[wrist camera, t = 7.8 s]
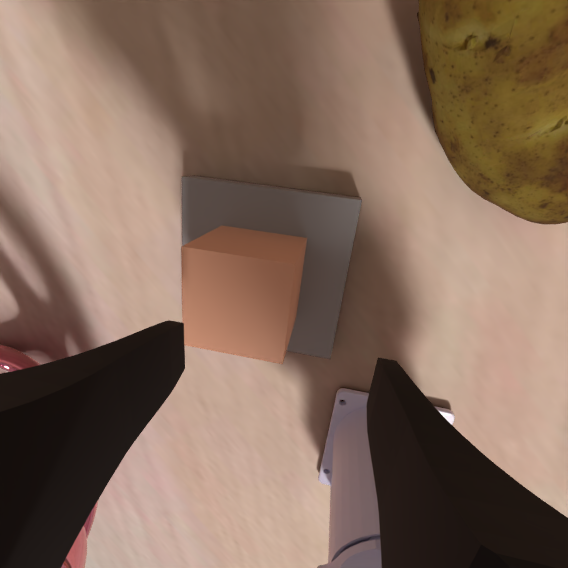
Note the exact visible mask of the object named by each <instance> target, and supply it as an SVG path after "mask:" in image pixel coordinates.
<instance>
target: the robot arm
mask: <svg viewBox="0 0 568 568" xmlns="http://www.w3.org/2000/svg"><path fill="white" fill-rule="evenodd" d="M184 369H185V351H184V323H180V322H175V321H165V322H162V323H159V324H157V325H154V326H151V327H149V328H146V329H144V330H142V331H139V332H137V333H134V334H132V335H129V336H127V337H124V338H122V339H119V340H117V341H114V342H111V343H109V344H106V345H103V346H100V347H98V348H95V349H92V350H89V351H87V352H84V353H81V354H77V355H74V356H71V357H68V358H64V359H61V360H57V361H54V362H50V363H46V364H42V365H38V366H33V367H29V368H25V369H20V370H16V371H12V372H7V373H2V374H0V568H61V567H62V565H63V563H64V561H65V559H66V557H67V555H68V553H69V551H70V549H71V548H72V546H73V544H74V542H75V540H76V538H77V537H78V535H79V533H80V531H81V529H82V527H83V526H84V524H85V522H86V520H87V518H88V516H89V515H90V513H91V511H92V509H93V508H94V506H95V504H96V502H97V501H98V499H99V497H100V496H101V494H102V492H103V490H104V489H105V487H106V485H107V484H108V482H109V480H110V479H111V477H112V475H113V474H114V472H115V470H116V469H117V467H118V466H119V464H120V462H121V461H122V459H123V457H124V456H125V454H126V453H127V451H128V450H129V448H130V447H131V446H132V444H133V443H134V441H135V440H136V439H137V437H138V436H139V435H140V433H141V432H142V431H143V429H144V428H145V427H146V425H147V424H148V423H149V421H150V420H151V419H152V417H153V416H154V415H155V413H156V412H157V411H158V410H159V408H160V407H161V406H162V404H163V403H164V401H165V400H166V399H167V397H168V396H169V395H170V393H171V392H172V390H173V389H174V387H175V385H176V384H177V382H178V380H179V378H180V376H181V374H182V373H183V371H184ZM340 400H345V401H344V402H341V401H340ZM454 419H455V417H454V414H453V412H452V411H451V410H449V409H445V408H440V407H435V406H433V405H432V403H431V402H430V401H429V400H428V399H427V398H426V397H425V395H424V394H423V393H422V392H421V391H420V390H419V388H418V387H417V386H416V385H415V384H414V382H413V381H412V380H411V379H410V377H409V376H408V375H407V374H406V372H405V371H404V370H403V369H402V367H401V366H400V365H399V364H398V363H397V361H394V360H388V359H382V358H378V360H377V364H376V368H375V372H374V376H373V380H372V384H371V388H370V392H369V393H366V392H361V391H356V390H351V389H346V388H341V389H339V390H338V391H337V393H336V398H335V403H334V407H333V412H332V416H331V421H330V426H329V430H328V435H327V439H326V444H325V449H324V453H323V458H322V462H321V467H320V471H319V481H320V482H321V483H323V484H326V485H330V486H331V493H330V524H329V555H328V564H325V565H319V566H318V567H317V568H568V518H567V517H566V516H564V515H563V514H561V513H560V512H558V511H557V510H556V509H554V508H553V507H551V506H550V505H548V504H547V503H546V502H544V501H543V500H541V499H540V498H538V497H537V496H536V495H534V494H533V493H532V492H530V491H529V490H528V489H526V488H525V487H523V486H522V485H521V484H519V483H518V482H517V481H516V480H514V479H513V478H512V477H511V476H509V475H508V474H507V473H506V472H504V471H503V470H502V469H500V468H499V467H498V466H497V465H495V464H494V463H493V462H492V461H491V460H489V459H488V458H487V457H486V456H485V455H484V454H482V453H481V452H480V451H479V450H478V449H477V448H476V447H475V446H473V445H472V444H471V443H470V442H469V441H468V440H467V439H466V438H465V437H464V436H462V435H461V434H460V433H459V432H458V431H457V430H456V429H455V428H454V427H453V426H452V424H453V422H454Z"/></svg>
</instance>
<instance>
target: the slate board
mask: <svg viewBox="0 0 568 568" xmlns="http://www.w3.org/2000/svg"><path fill="white" fill-rule="evenodd" d="M361 202H362V200H361V198H360V197H353V196H345V195H338V194H330V193H322V192H315V191H307V190H299V189H292V188H284V187H277V186H269V185H261V184H254V183H246V182H238V181H231V180H223V179H215V178H208V177H200V176H182V246H183V245H185V244H187V243H189V242H191V241H193V240H195V239H197V238H199V237H201V236H203V235H205V234H206V233H208V232H210V231H212V230H214V229H216V228H218V227H220V226H229V227H236V228H243V229H249V230H256V231H263V232H270V233H277V234H284V235H291V236H297V237H304V238H307V243H306V250H305V258H304V265H303V272H302V279H301V286H300V294H299V301H298V308H297V315H296V319H295V323H294V326H293V330H292V333H291V337H290V340H289V344H288V347H287V350H286V351H290V352H295V353H300V354H305V355H310V356H316V357H321V358H326V359H330V358H331V353H332V348H333V343H334V338H335V333H336V328H337V323H338V318H339V313H340V308H341V303H342V298H343V293H344V288H345V283H346V278H347V273H348V268H349V263H350V258H351V253H352V248H353V243H354V237H355V232H356V227H357V222H358V217H359V212H360V207H361Z"/></svg>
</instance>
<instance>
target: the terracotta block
mask: <svg viewBox="0 0 568 568" xmlns="http://www.w3.org/2000/svg"><path fill="white" fill-rule="evenodd" d="M306 243H307V238H304V237H297V236H291V235H284V234H277V233H270V232H263V231H256V230H249V229H243V228H236V227H229V226H220V227H218V228H216V229H214V230H212V231H210V232H208V233H206V234H205V235H203V236H201V237H199V238H197V239H195V240H193V241H191V242H189V243H187V244H185V245H183V246H181V252H182V317H183V323H184V345H187V346H192V347H197V348H202V349H207V350H213V351H218V352H223V353H228V354H233V355H238V356H243V357H249V358H254V359H259V360H264V361H269V362H274V363H279V364H283V361H284V357H285V354H286V350H287V347H288V344H289V340H290V337H291V333H292V330H293V326H294V323H295V319H296V315H297V308H298V301H299V294H300V286H301V279H302V272H303V265H304V258H305V250H306Z"/></svg>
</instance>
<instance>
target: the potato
mask: <svg viewBox="0 0 568 568" xmlns="http://www.w3.org/2000/svg"><path fill="white" fill-rule="evenodd" d="M417 17H418V21H419V25H420V34H421V45H422V54H423V61H424V69H425V74H426V78H427V82H428V86H429V90H430V94H431V98H432V112H433V120H434V125H435V132H436V134H437V136H438V138H439V141H440V143H441V145H442V147H443V149H444V151H445V153H446V156H447V158H448V159H449V161H450V163H451V165H452V166H453V168H454V170H455V171H456V172H457V174H458V175H459V177H460V178H461V179H462V180H463V182H464V183H465V184H466V185H467V186H468V187H469V188H470V189H471V190H472V191H473V192H475V193H476V194H478V195H479V196H481V197H482V198H483V199H485V200H487V201H489V202H491V203H493V204H495V205H497V206H499V207H501V208H502V209H504V210H506V211H508V212H510V213H511V214H513V215H515V216H517V217H520V218H522V219H525V220H527V221H530V222H534V223H540V224H560V223H566V222H568V0H419V12H418V13H417Z"/></svg>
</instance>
